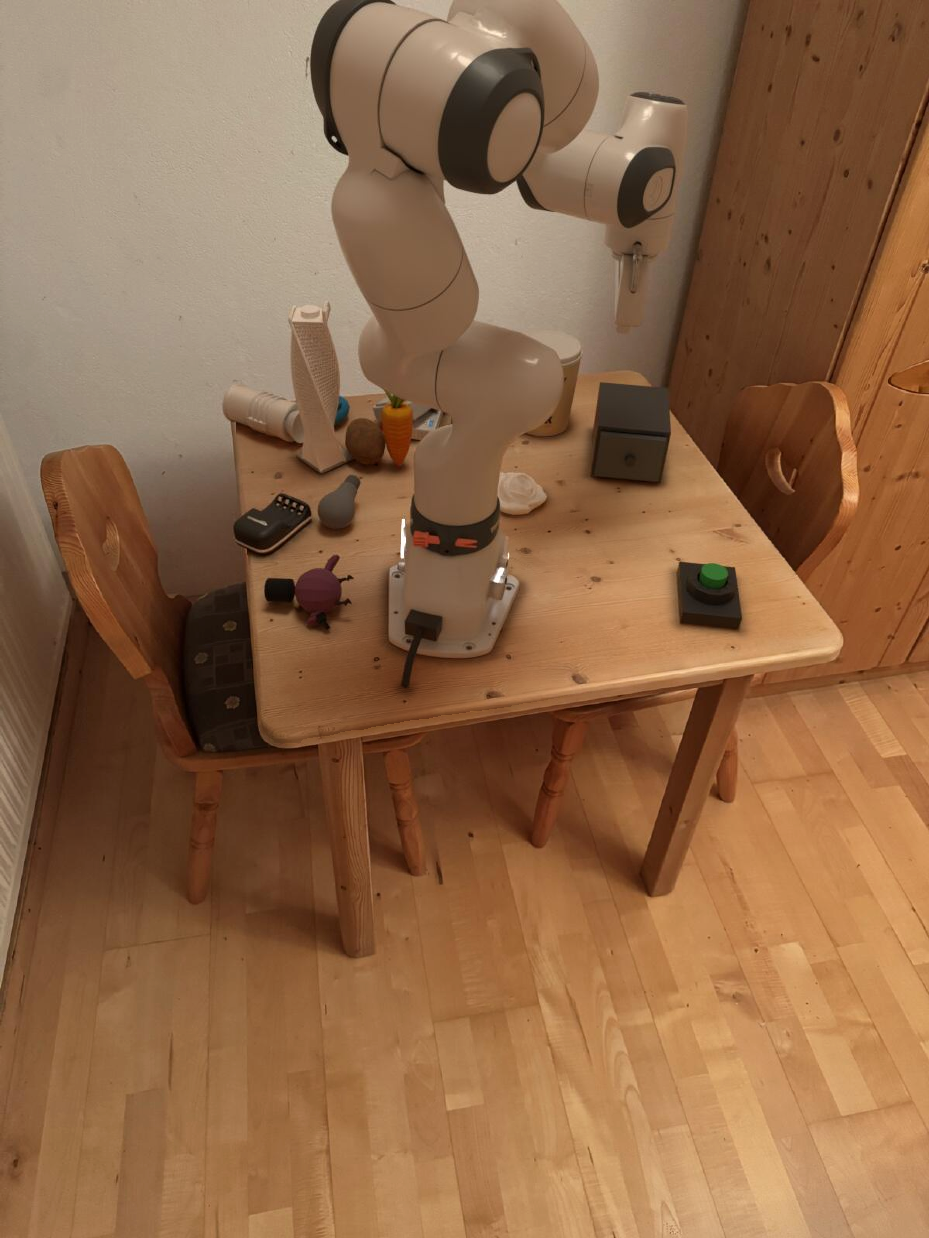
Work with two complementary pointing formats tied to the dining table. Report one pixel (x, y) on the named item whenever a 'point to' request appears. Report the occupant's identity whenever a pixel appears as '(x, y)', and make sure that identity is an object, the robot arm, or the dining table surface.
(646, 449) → the drawer
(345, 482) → the light bulb
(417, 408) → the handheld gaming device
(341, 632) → the dining table surface
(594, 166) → the robot arm
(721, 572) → the button
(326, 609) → the figurine
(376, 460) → the potato
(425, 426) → the ink cartridge box
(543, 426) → the coffee cup
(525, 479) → the rose
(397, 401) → the carrot
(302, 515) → the battery charger
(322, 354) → the skyscraper
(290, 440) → the white ribbed cylinder
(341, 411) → the ornament
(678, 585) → the control block
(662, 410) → the cabinet
